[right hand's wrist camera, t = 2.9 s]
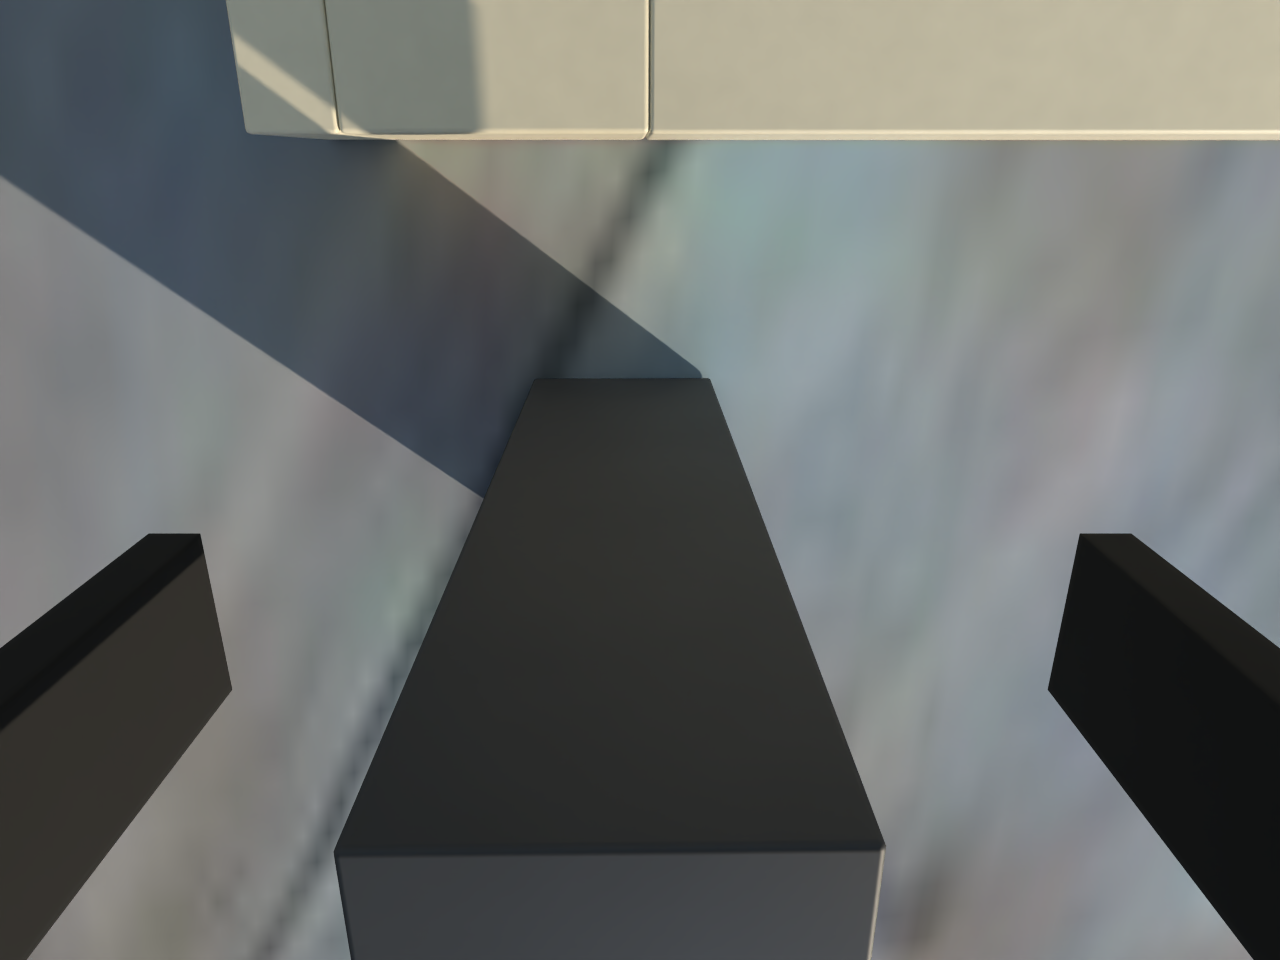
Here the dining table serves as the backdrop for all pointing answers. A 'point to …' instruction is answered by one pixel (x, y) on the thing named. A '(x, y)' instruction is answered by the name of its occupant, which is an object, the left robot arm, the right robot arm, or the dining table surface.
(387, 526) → the dining table surface
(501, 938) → the peg
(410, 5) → the peg board
